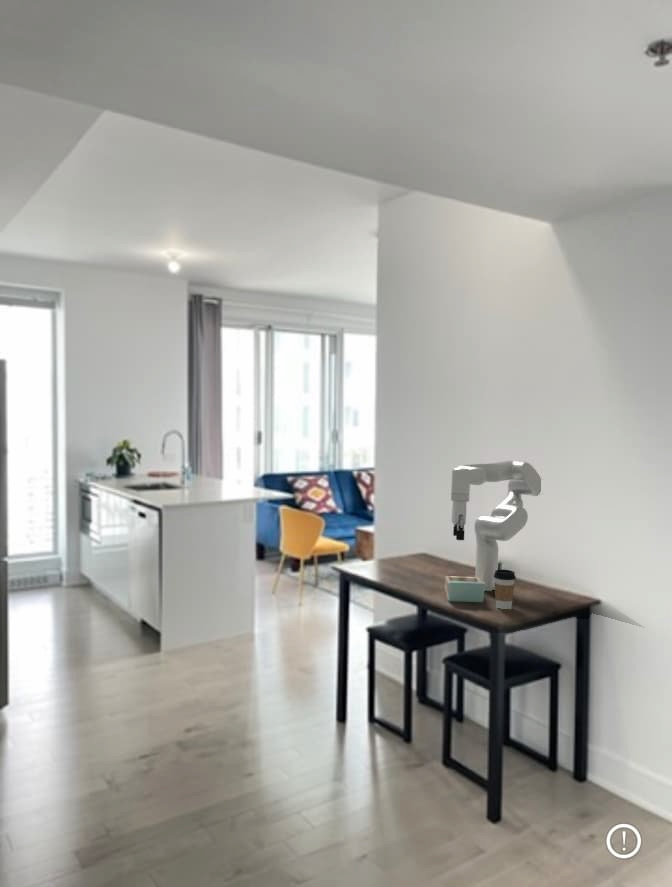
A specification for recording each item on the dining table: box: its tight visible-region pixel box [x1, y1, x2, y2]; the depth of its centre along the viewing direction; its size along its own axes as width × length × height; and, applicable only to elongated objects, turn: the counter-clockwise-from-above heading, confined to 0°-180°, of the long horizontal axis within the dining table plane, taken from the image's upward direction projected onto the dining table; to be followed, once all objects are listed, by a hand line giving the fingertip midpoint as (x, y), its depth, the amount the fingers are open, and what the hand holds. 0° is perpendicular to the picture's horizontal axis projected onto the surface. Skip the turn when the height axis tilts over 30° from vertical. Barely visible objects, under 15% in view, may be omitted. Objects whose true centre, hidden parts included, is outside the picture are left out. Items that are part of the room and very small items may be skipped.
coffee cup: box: [494, 569, 516, 609], centre depth 266 cm, size 8×8×15 cm
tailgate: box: [447, 581, 485, 603], centre depth 273 cm, size 14×1×9 cm, turn 87°
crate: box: [444, 575, 481, 600], centre depth 281 cm, size 14×12×7 cm
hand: (458, 537), depth 283 cm, fingers open, 9 cm apart
